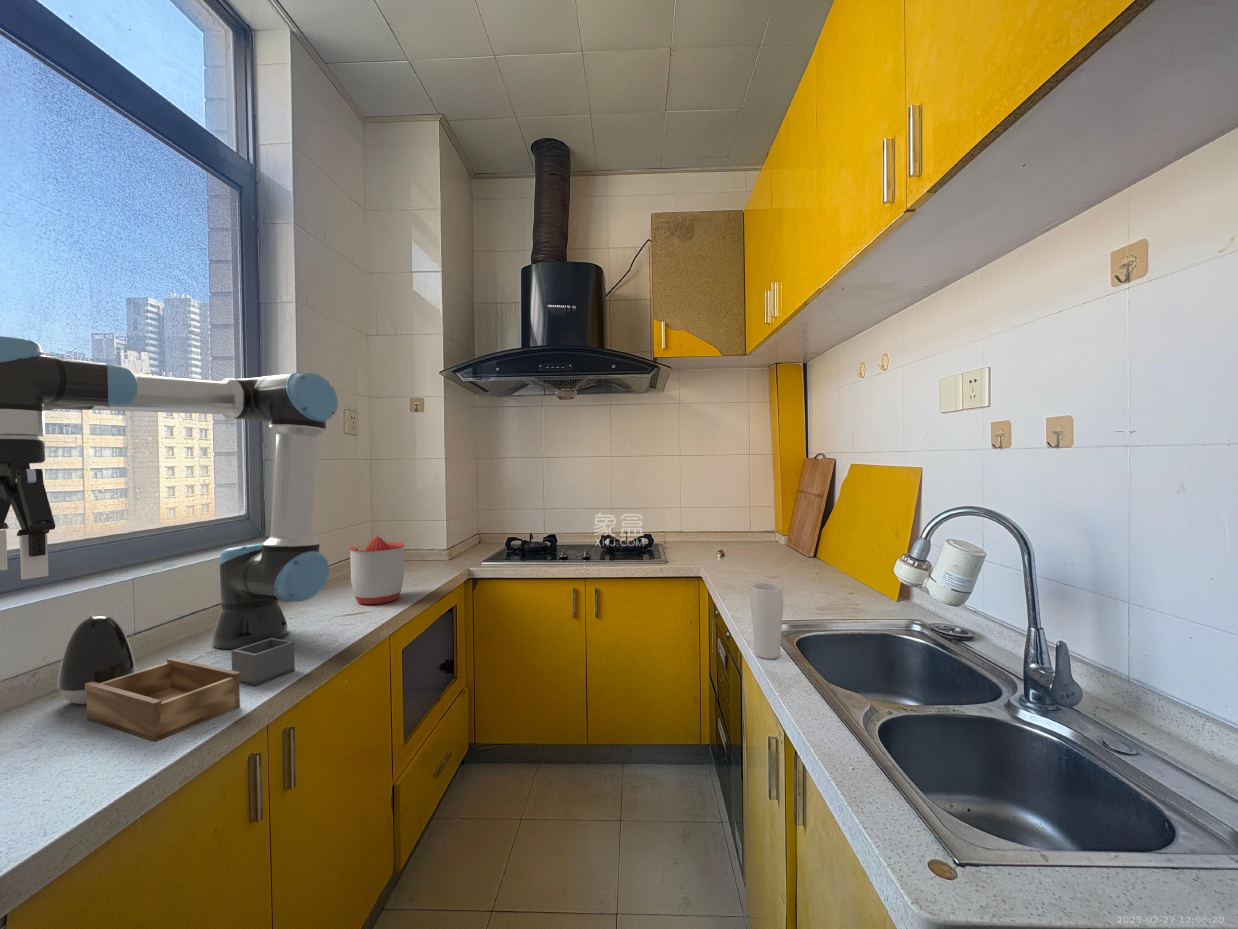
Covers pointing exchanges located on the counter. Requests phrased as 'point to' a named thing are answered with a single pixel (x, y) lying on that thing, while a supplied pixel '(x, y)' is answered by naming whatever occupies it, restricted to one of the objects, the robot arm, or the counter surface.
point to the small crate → (263, 661)
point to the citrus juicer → (377, 571)
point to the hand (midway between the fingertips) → (14, 574)
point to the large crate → (163, 698)
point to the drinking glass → (767, 618)
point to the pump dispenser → (94, 657)
